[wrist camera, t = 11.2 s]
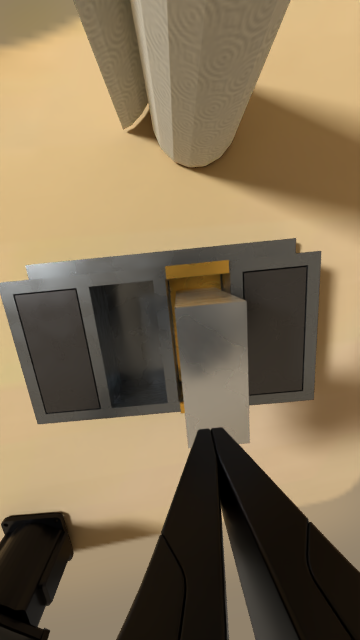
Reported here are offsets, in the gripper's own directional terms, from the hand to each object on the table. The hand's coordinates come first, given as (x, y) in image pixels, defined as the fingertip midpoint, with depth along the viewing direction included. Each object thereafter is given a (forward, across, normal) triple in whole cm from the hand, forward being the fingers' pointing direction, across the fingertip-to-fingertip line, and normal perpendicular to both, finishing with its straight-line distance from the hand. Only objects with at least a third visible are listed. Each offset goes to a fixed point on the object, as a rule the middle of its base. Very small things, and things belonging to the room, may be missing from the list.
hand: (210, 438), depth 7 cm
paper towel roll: (+12, -1, -16) cm, 20 cm away
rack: (+12, +2, -1) cm, 12 cm away
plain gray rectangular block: (+10, -1, -1) cm, 11 cm away
